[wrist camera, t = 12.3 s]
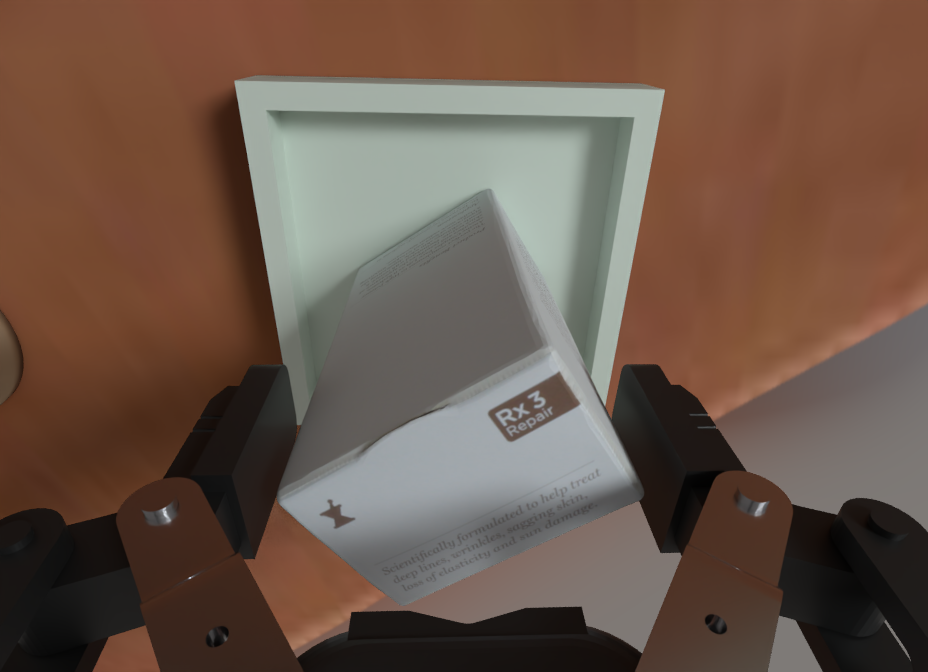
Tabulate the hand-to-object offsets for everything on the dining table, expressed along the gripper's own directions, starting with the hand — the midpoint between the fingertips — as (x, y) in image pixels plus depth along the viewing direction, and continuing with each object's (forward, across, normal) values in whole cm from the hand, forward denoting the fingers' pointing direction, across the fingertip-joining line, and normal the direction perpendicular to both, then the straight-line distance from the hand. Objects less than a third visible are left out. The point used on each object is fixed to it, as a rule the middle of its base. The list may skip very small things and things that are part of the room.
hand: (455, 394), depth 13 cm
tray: (+9, 0, 0) cm, 9 cm away
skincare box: (+9, 0, 0) cm, 9 cm away
